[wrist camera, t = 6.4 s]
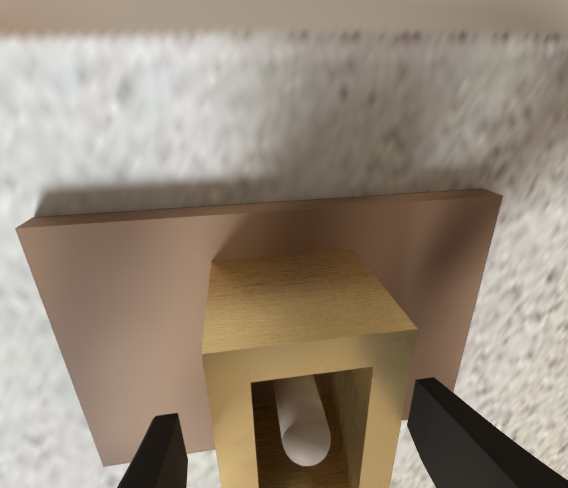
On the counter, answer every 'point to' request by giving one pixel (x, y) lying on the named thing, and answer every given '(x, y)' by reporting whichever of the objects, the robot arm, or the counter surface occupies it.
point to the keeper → (194, 291)
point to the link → (305, 366)
